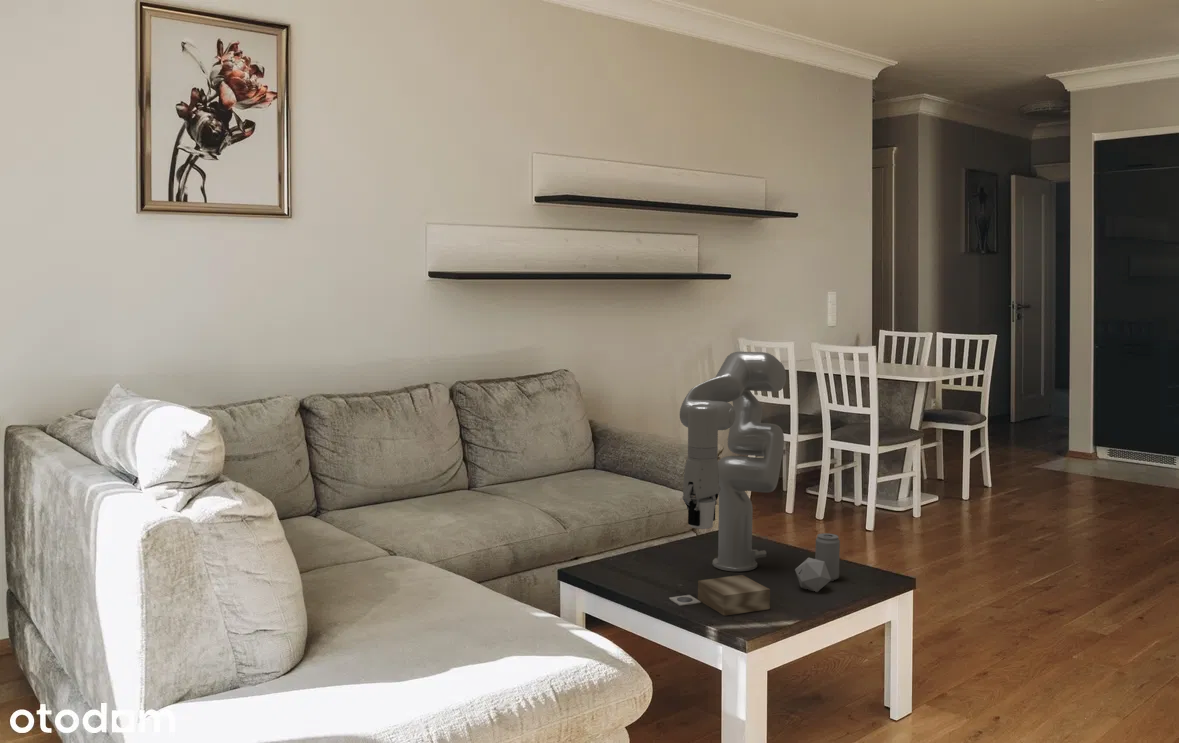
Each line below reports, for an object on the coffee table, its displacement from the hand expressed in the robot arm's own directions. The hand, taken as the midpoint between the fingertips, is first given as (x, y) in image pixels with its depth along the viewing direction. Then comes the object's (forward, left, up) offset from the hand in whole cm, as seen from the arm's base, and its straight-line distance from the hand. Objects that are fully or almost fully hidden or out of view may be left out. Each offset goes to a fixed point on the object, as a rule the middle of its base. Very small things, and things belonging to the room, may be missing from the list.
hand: (701, 521), depth 249 cm
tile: (+6, +2, -20) cm, 20 cm away
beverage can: (-39, 0, -20) cm, 44 cm away
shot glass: (0, 0, -1) cm, 1 cm away
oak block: (-4, +9, -20) cm, 22 cm away
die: (-30, +6, -20) cm, 37 cm away
